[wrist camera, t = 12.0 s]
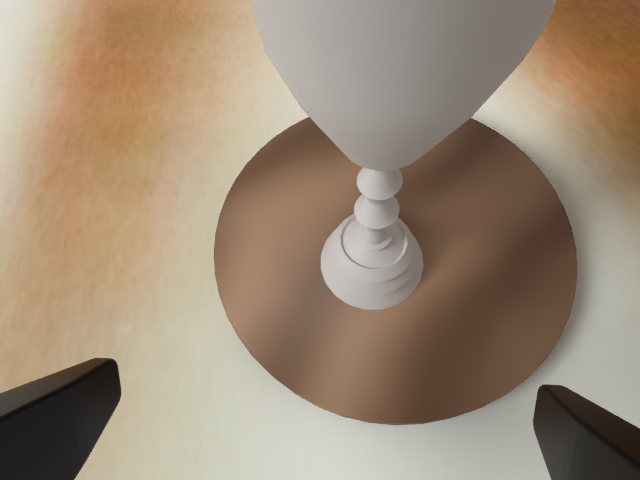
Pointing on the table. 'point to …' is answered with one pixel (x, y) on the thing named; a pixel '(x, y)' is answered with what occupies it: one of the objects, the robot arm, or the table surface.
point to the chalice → (391, 106)
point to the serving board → (428, 297)
